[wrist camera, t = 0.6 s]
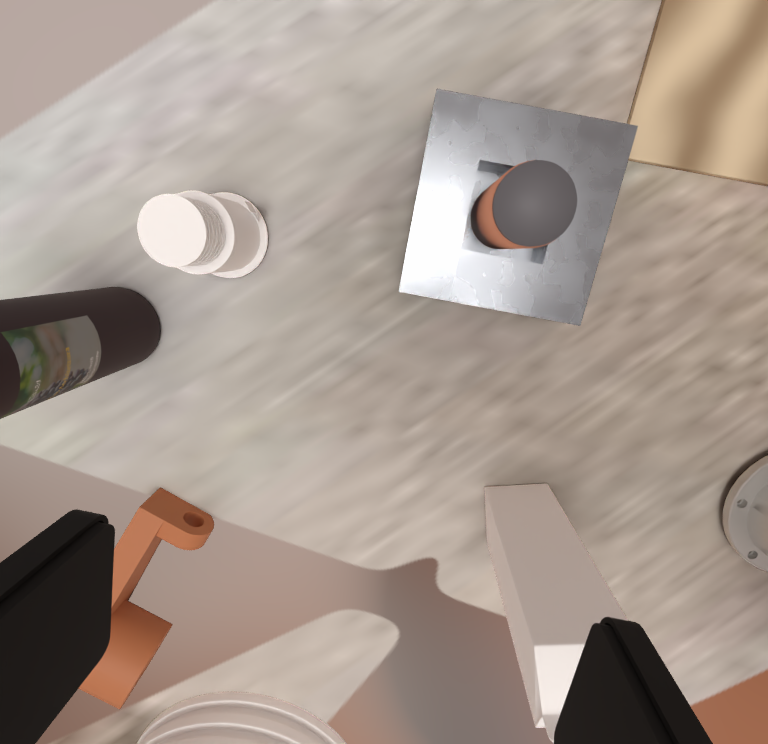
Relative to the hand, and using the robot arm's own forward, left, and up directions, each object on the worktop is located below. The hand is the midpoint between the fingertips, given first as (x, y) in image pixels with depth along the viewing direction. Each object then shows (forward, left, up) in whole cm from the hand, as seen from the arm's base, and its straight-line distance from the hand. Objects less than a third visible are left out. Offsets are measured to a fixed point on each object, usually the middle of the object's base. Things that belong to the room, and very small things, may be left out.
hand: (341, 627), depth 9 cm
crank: (+20, +30, -34) cm, 50 cm away
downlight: (+16, -6, -34) cm, 38 cm away
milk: (-15, +15, -34) cm, 40 cm away
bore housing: (-7, -11, -34) cm, 36 cm away
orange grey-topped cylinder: (-7, -11, -33) cm, 35 cm away
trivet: (-21, -23, -34) cm, 46 cm away
